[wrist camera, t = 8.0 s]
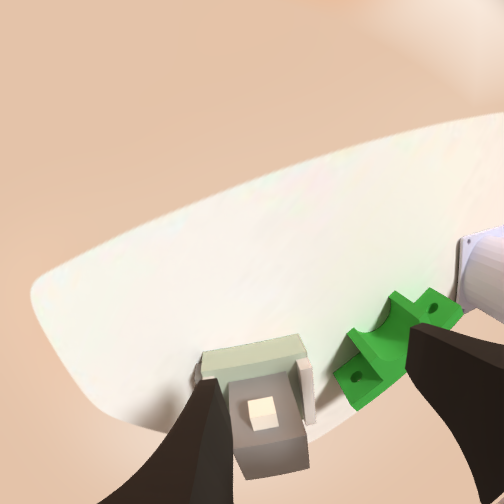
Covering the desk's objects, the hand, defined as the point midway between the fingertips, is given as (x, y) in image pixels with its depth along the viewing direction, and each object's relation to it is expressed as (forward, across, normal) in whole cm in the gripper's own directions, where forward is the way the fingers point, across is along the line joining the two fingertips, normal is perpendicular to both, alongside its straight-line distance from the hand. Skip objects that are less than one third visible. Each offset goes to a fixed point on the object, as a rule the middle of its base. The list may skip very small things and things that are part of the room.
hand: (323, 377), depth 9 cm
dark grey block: (+8, +2, +8) cm, 11 cm away
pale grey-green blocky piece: (+10, +2, +8) cm, 13 cm away
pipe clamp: (+11, -8, +6) cm, 15 cm away
